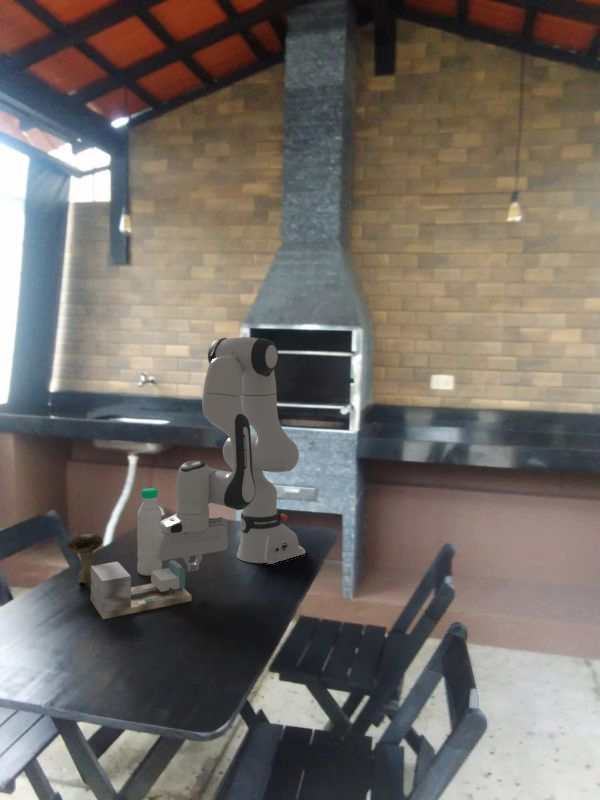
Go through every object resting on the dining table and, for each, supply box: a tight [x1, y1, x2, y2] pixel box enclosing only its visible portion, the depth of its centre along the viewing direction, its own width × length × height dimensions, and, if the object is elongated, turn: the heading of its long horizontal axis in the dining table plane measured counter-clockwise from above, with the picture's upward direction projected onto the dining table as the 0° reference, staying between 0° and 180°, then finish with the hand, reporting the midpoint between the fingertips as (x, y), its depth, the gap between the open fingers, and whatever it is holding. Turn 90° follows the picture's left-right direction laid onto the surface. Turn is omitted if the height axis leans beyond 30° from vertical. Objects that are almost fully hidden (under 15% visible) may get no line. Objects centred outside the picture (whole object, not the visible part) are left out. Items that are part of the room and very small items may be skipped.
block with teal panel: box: [150, 559, 186, 593], centre depth 167 cm, size 7×10×5 cm, turn 32°
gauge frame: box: [90, 561, 193, 620], centre depth 164 cm, size 23×13×10 cm, turn 121°
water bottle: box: [136, 487, 163, 577], centre depth 184 cm, size 7×7×25 cm
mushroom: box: [66, 533, 104, 589], centre depth 172 cm, size 9×9×15 cm
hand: (192, 570), depth 171 cm, fingers closed
